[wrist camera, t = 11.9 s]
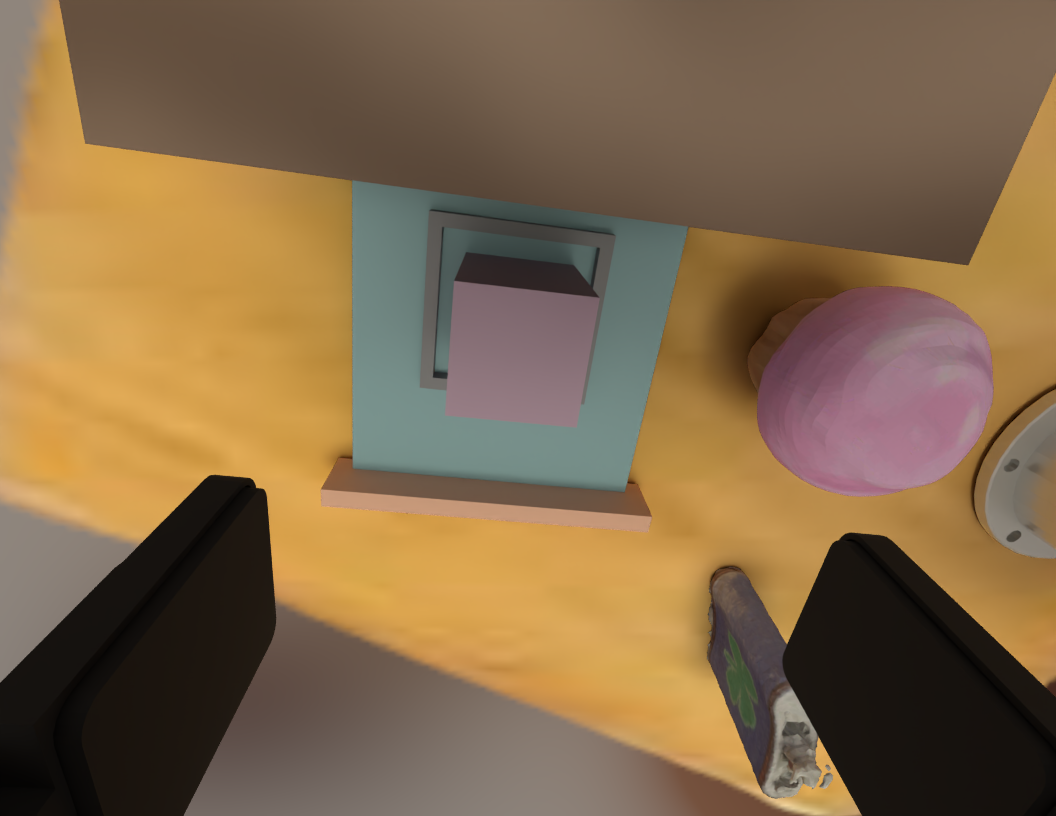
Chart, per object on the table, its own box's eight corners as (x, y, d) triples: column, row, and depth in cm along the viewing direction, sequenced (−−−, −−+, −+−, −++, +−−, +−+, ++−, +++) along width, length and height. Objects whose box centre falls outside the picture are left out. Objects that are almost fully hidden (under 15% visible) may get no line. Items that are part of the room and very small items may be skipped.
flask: (708, 567, 34) (793, 726, 24) (753, 561, 34) (856, 718, 24) (703, 668, 38) (775, 841, 28) (744, 663, 38) (830, 834, 28)
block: (574, 265, 25) (599, 297, 18) (558, 366, 27) (576, 427, 20) (466, 252, 24) (454, 280, 18) (458, 355, 26) (444, 415, 20)
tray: (334, 108, 23) (309, 99, 20) (717, 166, 24) (747, 165, 21) (339, 473, 30) (321, 506, 27) (634, 498, 31) (648, 532, 28)
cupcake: (803, 445, 31) (931, 561, 22) (678, 386, 29) (760, 485, 20) (909, 307, 28) (1111, 374, 18) (776, 231, 26) (928, 263, 17)
